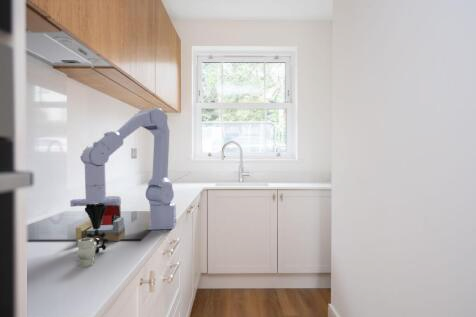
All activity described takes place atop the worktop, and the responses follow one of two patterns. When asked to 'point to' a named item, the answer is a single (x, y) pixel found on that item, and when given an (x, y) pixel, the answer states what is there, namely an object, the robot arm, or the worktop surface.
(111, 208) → the canned food
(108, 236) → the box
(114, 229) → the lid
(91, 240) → the valve
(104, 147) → the robot arm
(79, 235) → the bar
